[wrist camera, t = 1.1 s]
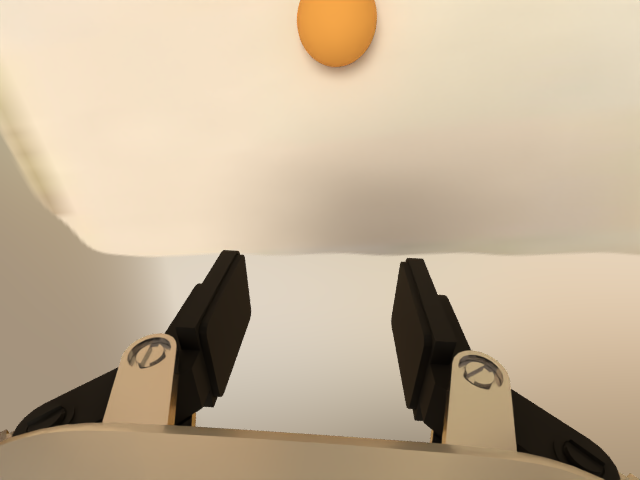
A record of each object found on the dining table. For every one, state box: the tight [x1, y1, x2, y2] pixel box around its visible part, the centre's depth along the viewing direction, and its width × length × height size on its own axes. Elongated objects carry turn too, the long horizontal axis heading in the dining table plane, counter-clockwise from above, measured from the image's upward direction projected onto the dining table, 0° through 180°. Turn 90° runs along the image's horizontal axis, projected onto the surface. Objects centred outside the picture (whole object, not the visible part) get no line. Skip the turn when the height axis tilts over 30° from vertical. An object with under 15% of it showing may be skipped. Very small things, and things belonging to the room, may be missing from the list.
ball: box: [297, 0, 377, 67], centre depth 20 cm, size 5×5×5 cm
